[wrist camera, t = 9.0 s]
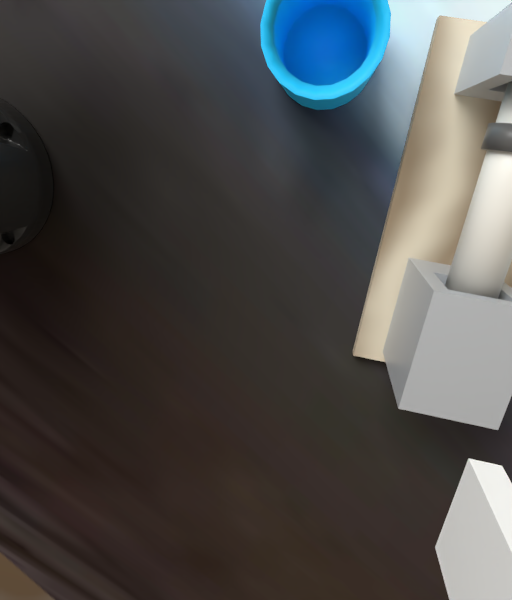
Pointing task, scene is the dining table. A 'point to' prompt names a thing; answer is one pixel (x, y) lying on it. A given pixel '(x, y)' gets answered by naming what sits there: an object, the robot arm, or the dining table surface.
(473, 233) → the tube
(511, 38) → the socket
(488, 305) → the sleeve
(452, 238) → the mount board
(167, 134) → the dining table surface
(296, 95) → the mug
